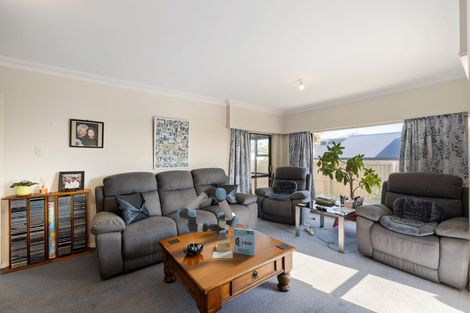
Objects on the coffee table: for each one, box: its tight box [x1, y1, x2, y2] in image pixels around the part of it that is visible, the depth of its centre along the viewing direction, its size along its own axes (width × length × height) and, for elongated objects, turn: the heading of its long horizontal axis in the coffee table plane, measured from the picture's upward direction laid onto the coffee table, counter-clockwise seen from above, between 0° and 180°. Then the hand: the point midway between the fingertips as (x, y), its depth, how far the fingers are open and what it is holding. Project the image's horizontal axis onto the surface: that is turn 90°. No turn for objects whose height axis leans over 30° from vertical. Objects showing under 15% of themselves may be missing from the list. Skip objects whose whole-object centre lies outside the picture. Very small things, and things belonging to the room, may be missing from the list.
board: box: [211, 250, 234, 259], centre depth 188 cm, size 12×18×1 cm, turn 91°
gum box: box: [233, 226, 256, 257], centre depth 192 cm, size 20×5×23 cm, turn 72°
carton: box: [215, 241, 231, 252], centre depth 201 cm, size 12×13×14 cm
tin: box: [218, 220, 227, 240], centre depth 189 cm, size 5×6×16 cm
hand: (228, 227), depth 189 cm, fingers closed on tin, 5 cm apart
